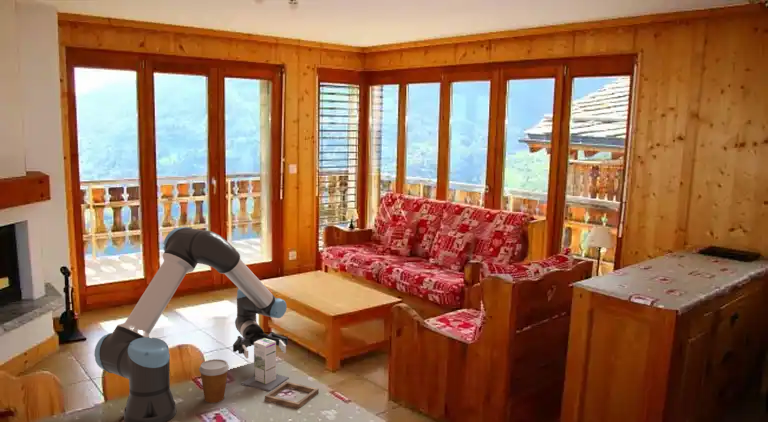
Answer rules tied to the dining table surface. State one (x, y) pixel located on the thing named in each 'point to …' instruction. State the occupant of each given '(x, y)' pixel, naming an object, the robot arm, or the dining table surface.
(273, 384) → the rubber mat
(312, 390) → the walnut holder frame
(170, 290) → the robot arm
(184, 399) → the dining table surface
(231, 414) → the dining table surface
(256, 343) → the syrup box
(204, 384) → the disposable coffee cup
